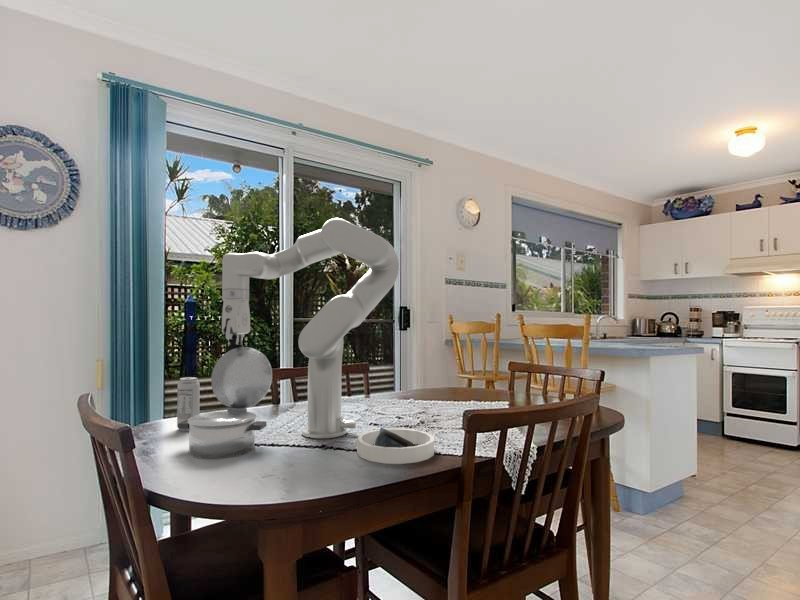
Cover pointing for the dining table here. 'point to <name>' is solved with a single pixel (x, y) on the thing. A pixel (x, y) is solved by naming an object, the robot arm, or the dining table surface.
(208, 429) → the pot
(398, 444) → the dark grey wedge
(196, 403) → the energy drink can
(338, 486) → the dining table surface
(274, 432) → the dining table surface
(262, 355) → the lid
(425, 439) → the round white tray
